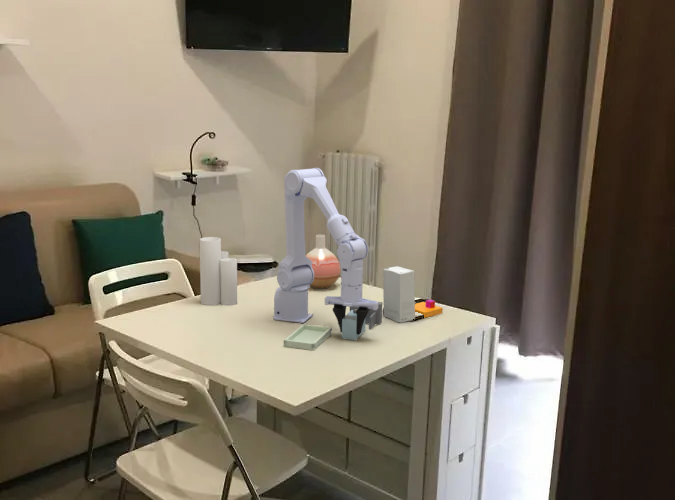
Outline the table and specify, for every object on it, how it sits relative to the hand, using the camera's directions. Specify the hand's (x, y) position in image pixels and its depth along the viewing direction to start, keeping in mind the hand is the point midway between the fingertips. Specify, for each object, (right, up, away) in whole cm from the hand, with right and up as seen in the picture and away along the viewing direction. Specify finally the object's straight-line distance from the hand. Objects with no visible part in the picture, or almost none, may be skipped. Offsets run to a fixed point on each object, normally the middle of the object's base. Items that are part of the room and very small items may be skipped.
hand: (350, 332), depth 206 cm
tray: (-11, -2, -2) cm, 12 cm away
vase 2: (-9, +10, +51) cm, 53 cm away
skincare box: (+14, +2, +18) cm, 23 cm away
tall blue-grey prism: (+1, -1, +3) cm, 3 cm away
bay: (+4, +1, +12) cm, 12 cm away
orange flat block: (+22, +3, +24) cm, 33 cm away
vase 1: (-40, +6, +31) cm, 51 cm away
